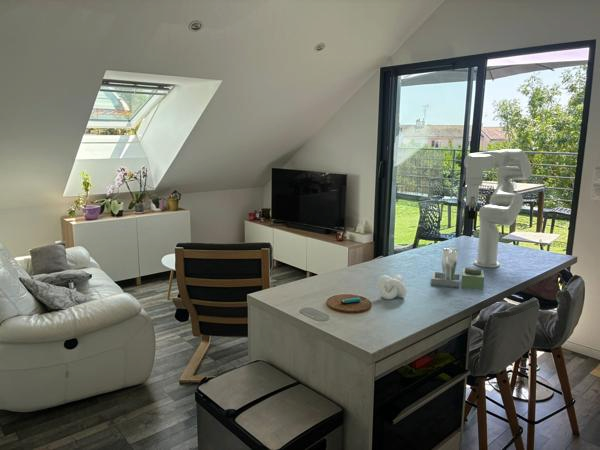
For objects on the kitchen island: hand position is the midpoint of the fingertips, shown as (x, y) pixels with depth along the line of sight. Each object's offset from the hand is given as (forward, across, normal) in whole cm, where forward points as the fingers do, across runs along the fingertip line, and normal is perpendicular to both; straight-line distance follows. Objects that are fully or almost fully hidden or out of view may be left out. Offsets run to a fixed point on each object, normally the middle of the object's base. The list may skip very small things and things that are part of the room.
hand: (471, 217), depth 225 cm
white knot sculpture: (+29, +46, -30) cm, 62 cm away
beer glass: (+28, +18, -8) cm, 34 cm away
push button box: (+28, +18, -5) cm, 34 cm away
